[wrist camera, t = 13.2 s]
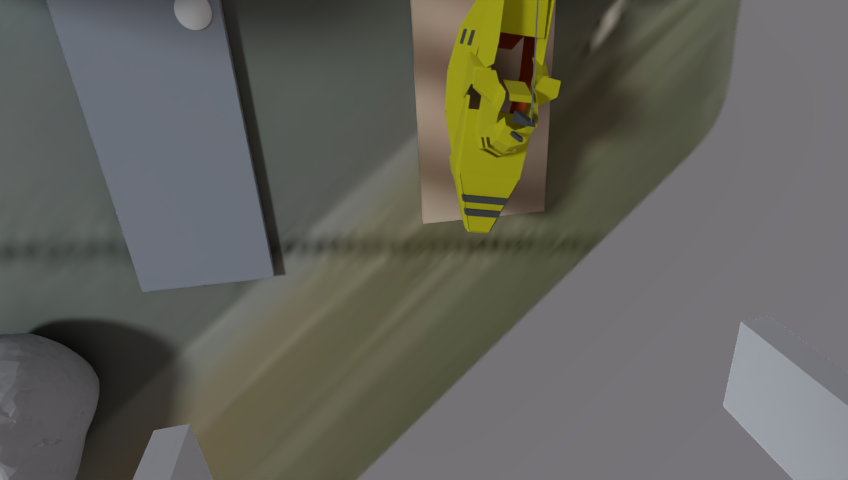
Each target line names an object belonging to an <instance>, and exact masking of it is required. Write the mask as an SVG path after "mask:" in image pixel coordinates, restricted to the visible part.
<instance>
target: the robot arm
mask: <svg viewBox="0 0 848 480" xmlns="http://www.w3.org/2000/svg"><path fill="white" fill-rule="evenodd" d="M723 407H724V408H725V409H726V410H727V411H728V412H729V413H730V414H731V415H732V416H733V417H734V418H735V419H736V420H737V421H738V422H739V423H740V424H741V425H742V426H743V428H744V429H745V430H746V431H747V432H748V433H749V434H750V435H751V436H752V437H753V438H754V439H755V440H756V441H757V442H758V443H759V444H760V445H761V446H762V447H763V448H764V450H765V451H766V452H767V453H768V454H769V455H770V456H771V457H772V458H773V459H774V460H775V461H776V462H777V463H778V464H779V465H780V466H781V467H782V468H783V469H784V470H785V472H786V473H787V474H788V475H789V476H790V477H791V478H792V479H793V480H848V373H847V372H846V371H845V370H843V369H842V368H840V367H839V366H838V365H836V364H835V363H834V362H832V361H831V360H829V359H828V358H827V357H825V356H824V355H822V354H821V353H819V352H818V351H817V350H816V349H814V348H813V347H811V346H810V345H809V344H807V343H806V342H804V341H803V340H802V339H800V338H799V337H798V336H796V335H795V334H794V333H792V332H790V331H789V330H788V329H787V328H785V327H784V326H783V325H781V324H780V323H778V322H777V321H776V320H774V319H773V318H772V317H770V316H768V317H763V318H757V319H753V320H747V321H741V324H740V328H739V333H738V338H737V343H736V347H735V352H734V356H733V361H732V366H731V370H730V375H729V380H728V384H727V389H726V394H725V398H724V403H723ZM133 480H213V478H212V476H211V473H210V471H209V469H208V466H207V464H206V461H205V459H204V456H203V454H202V452H201V449H200V447H199V444H198V442H197V440H196V437H195V435H194V432H193V430H192V428H191V425H190V424H186V425H180V426H175V427H169V428H164V429H159V430H154V431H153V434H152V436H151V438H150V441H149V443H148V445H147V447H146V450H145V452H144V454H143V457H142V459H141V461H140V464H139V466H138V468H137V471H136V473H135V475H134V478H133Z"/></svg>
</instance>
